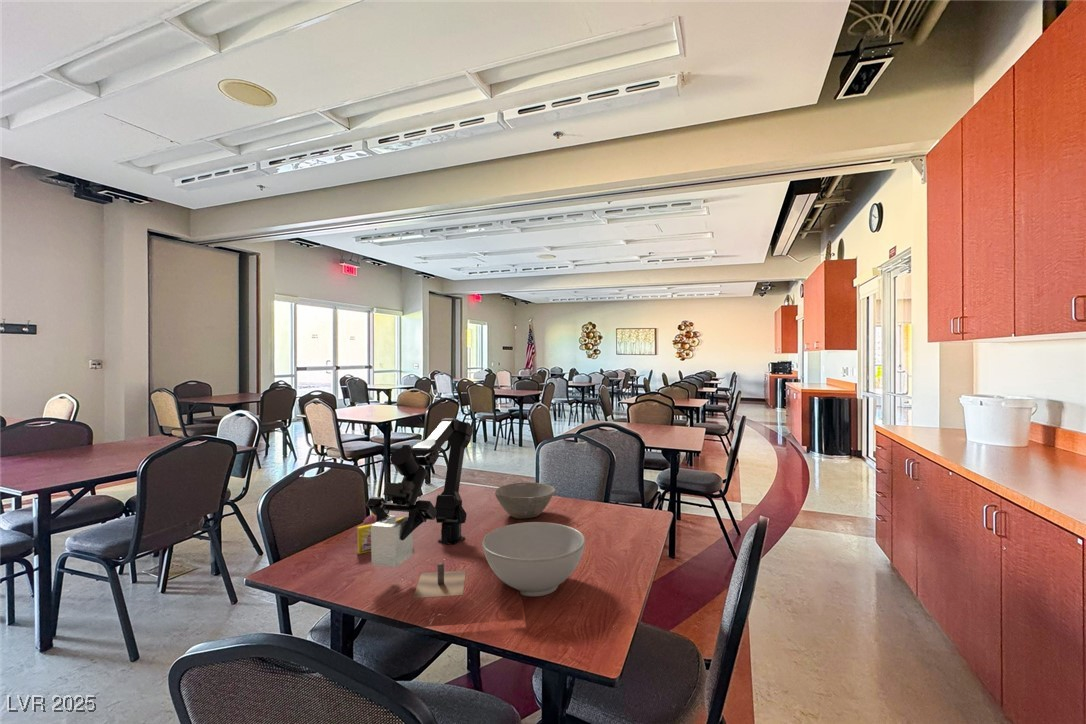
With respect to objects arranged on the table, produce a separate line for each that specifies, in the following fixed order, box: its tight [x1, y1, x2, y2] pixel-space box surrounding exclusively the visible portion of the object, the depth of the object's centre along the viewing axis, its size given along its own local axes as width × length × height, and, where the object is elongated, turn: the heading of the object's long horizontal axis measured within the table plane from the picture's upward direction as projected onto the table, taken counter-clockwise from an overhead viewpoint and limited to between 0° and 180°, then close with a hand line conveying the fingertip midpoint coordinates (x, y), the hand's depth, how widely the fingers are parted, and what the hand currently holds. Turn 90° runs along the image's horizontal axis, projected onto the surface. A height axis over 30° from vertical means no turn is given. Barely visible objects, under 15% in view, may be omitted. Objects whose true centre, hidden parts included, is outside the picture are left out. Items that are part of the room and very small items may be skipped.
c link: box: [371, 514, 414, 568], centre depth 124 cm, size 8×7×10 cm
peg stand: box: [412, 562, 467, 599], centre depth 123 cm, size 14×12×6 cm
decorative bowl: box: [481, 521, 586, 597], centre depth 123 cm, size 27×27×12 cm
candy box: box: [356, 516, 405, 555], centre depth 151 cm, size 16×2×8 cm, turn 128°
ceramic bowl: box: [494, 482, 556, 520], centre depth 181 cm, size 22×23×10 cm
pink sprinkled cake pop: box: [362, 510, 377, 526], centre depth 163 cm, size 9×8×12 cm
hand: (389, 538), depth 122 cm, fingers closed on c link, 7 cm apart
